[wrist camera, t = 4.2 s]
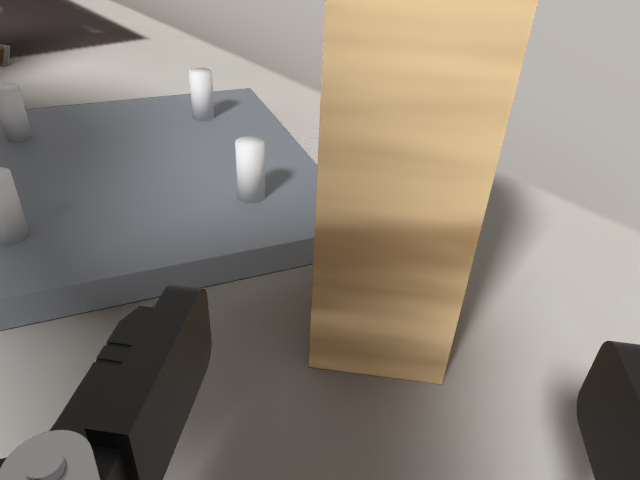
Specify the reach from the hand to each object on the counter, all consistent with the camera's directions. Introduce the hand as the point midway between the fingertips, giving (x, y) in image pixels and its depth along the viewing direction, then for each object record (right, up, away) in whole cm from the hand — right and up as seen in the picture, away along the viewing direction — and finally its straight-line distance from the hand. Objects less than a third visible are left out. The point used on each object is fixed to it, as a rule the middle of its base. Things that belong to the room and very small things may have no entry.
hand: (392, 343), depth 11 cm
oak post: (+1, -2, +11) cm, 11 cm away
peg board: (-12, +5, +20) cm, 24 cm away
